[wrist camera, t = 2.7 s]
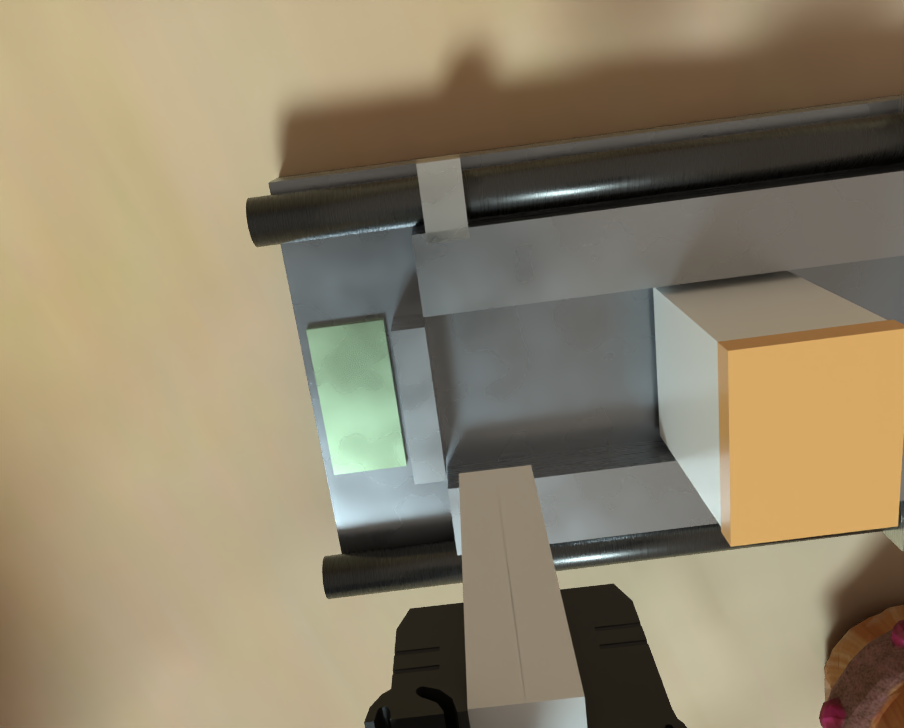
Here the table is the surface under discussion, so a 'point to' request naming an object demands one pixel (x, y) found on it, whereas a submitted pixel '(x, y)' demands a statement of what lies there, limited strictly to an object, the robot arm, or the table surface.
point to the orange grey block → (781, 405)
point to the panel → (556, 318)
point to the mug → (867, 675)
